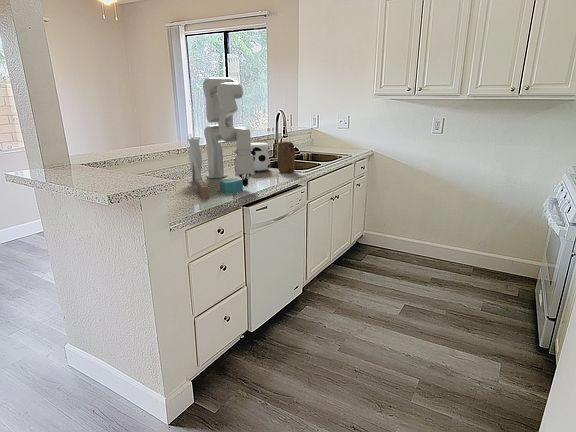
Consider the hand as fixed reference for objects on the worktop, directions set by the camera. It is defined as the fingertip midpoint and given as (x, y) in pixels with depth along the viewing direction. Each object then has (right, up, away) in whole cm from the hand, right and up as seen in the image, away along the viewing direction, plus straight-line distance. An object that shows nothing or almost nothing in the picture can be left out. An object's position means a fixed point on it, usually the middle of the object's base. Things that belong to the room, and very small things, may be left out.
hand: (245, 185), depth 207 cm
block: (+22, +13, +46) cm, 52 cm away
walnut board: (-22, -5, -7) cm, 23 cm away
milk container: (+3, +14, +50) cm, 52 cm away
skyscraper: (-31, +3, +18) cm, 36 cm away
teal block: (-7, -3, -2) cm, 8 cm away
